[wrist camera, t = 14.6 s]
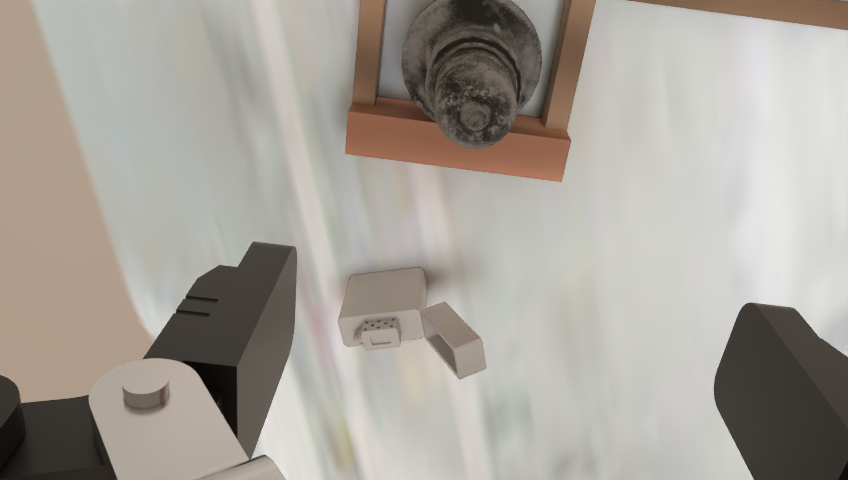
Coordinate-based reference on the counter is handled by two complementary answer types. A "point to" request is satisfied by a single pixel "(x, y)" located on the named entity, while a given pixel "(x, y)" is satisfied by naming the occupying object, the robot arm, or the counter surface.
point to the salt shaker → (472, 67)
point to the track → (529, 136)
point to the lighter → (407, 319)
